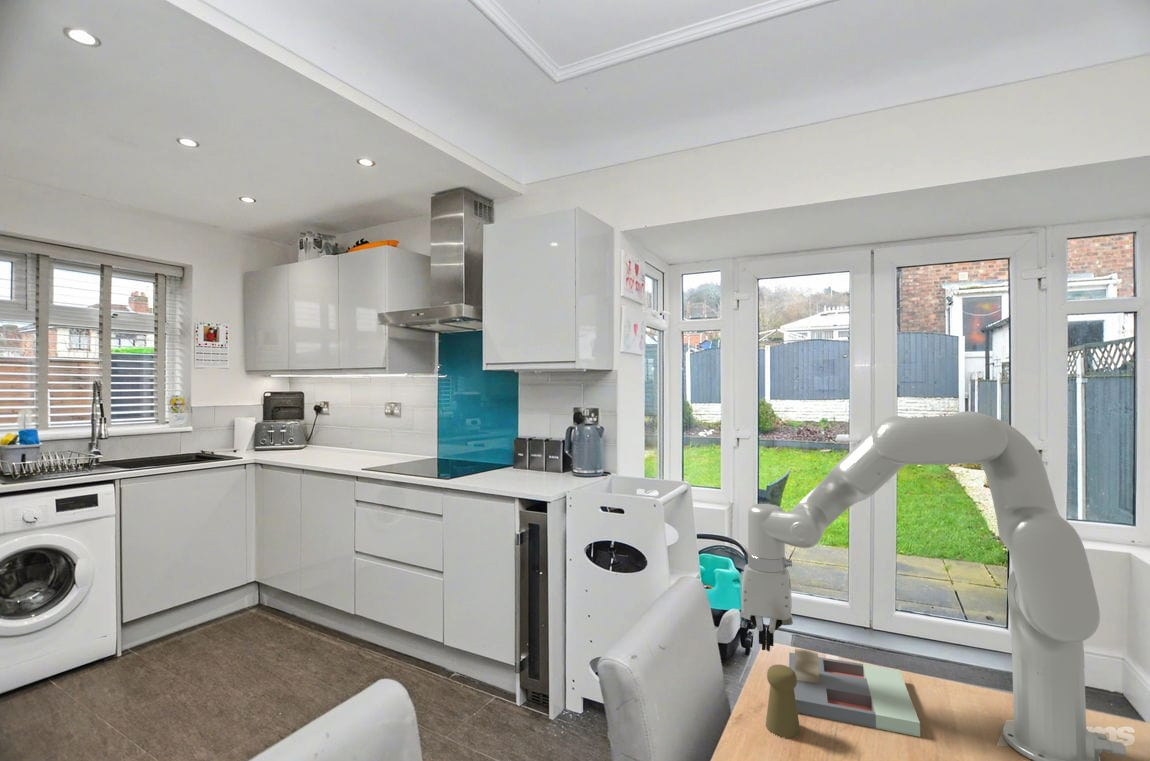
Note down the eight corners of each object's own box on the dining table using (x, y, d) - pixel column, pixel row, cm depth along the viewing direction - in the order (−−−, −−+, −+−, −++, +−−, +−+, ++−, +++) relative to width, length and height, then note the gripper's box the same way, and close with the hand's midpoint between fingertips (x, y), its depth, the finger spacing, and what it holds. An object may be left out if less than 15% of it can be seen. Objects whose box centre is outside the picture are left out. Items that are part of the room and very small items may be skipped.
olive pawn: (803, 740, 97) (802, 678, 97) (768, 736, 98) (766, 674, 98) (796, 720, 103) (795, 661, 103) (763, 716, 104) (762, 658, 104)
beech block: (818, 673, 115) (817, 651, 115) (819, 684, 111) (818, 661, 111) (795, 669, 117) (794, 648, 117) (795, 679, 112) (794, 658, 112)
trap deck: (899, 681, 116) (899, 669, 116) (920, 736, 97) (919, 722, 97) (789, 663, 124) (789, 652, 124) (788, 711, 106) (788, 698, 106)
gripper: (803, 561, 118) (803, 646, 117) (732, 553, 123) (732, 634, 123) (803, 572, 111) (804, 663, 110) (728, 563, 116) (728, 649, 116)
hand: (766, 647), depth 117 cm, fingers closed
